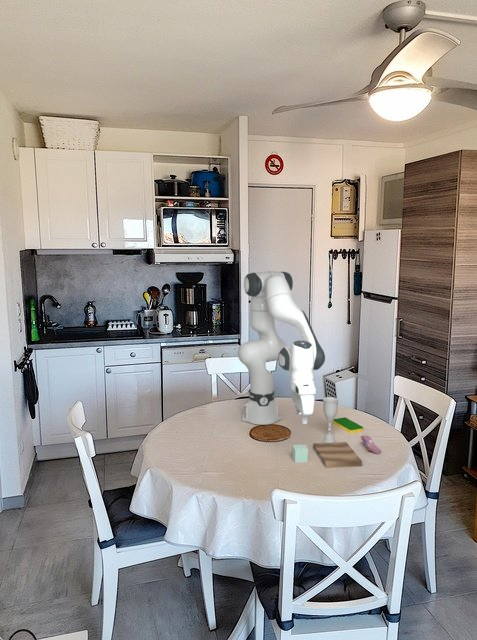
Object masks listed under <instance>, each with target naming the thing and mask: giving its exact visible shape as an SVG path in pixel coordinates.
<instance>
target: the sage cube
mask: <svg viewBox="0 0 477 640" xmlns="http://www.w3.org/2000/svg"><path fill="white" fill-rule="evenodd" d="M291 447H292V450H291V451H292V454H291V456H292V460H293V461H294V463H308V461H309V449H308V447H307V445H306V444H293V445H292V446H291Z"/></svg>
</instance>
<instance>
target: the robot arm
mask: <svg viewBox="0 0 477 640" xmlns="http://www.w3.org/2000/svg"><path fill="white" fill-rule="evenodd" d="M293 285H294V281H293V276H292V275H291V274H290V273H289V272H287V271H273V270H270V271H269V270H268V271H261V272H250V273H246V275H245V276H244V279H243V289H244V292H245V294H246V295H247V296H250V303H249V304H250V306H249V307H250V309H249V312H250V313H249V314H250V315H249V316H250V323H249V324H250V327H251V329H252V330H254V331H255V332H257V334H258V339H256V340H255V339H254V340H249V341H246V342H244V343H241V344H240V345H239V346H238V348H237V349H238V350H237V357H238V360H239V361H240V362H241V364H243V365H244V366H245V367H246V369H247V371H248V375H249V381H250V382H249V384H250V387H249V388H250V389H249V393H248V399H247V402H246V403H245V402H244V403H243V413H242V415H241V416H242V417H241V421H242V422H248V423H250V424H254V425H260V426H261V425H265V426H266V425H272V424H274V423H276V422H277V421H280V420H282V417H281V416H280V415H279V414H278V413H279V411H278V402H277V401H276V400H275V396H276V395H275V390H274V387H275V386H274V385H275V382H274V381H275V380H274V379H275V378H274V374H273V373H272V372H271V371H270V370H268V369H267V365H266V364H267V363H270V362H276V361H278V365H279V366H280V368H281V369H283V370H284V371H288V372H289V371H290V377H289V378H290V379H289V380H290V381H289V382H290V383H289V384H290V385H289V387H290V390H291V393H290V394H291V401H292V402H293V403H294V409H295V415H296V416H301V415H302V416H301V417H302V418H301V423H302V425H306V424H308V418H309V416H313V414H314V407H315V395H316V393H317V392H316V391H317V390H316V386H315V376H314V371H317V370H319V369H320V368H321V367H322V366H323V365H324V364H325V362H326V354H325V351H324V350H323V348H322V346H321V345H320V343H319V341H318V339H317V337H316V334H315V331H314V329H313V327H312V326H311V323H310V320H309V318H308V316H307V314H306V312H305V311H304V310H302V309H301V308H300V307H299V306H298V305H297V304H296V301H294V297H293V293H292V290H293ZM275 320H276V321H278V322H280V323H281V322H282V323H285V324H288V325H291V326H293V327H295V328H296V329H297V330H298V331H299V334H300V335H301V338H302V340H295V341H293V342H292V344H290V345H289V346H287V344H286V343H285V342H284V339H282V338H280V336H279V335H278V332H277V329H276V326H275Z"/></svg>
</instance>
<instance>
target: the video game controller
mask: <svg viewBox="0 0 477 640" xmlns="http://www.w3.org/2000/svg"><path fill="white" fill-rule="evenodd" d="M360 442H361V443H363V444H364V445H365V447H366V449H367V451H368V452H373V453H374V454H377V455H380V454H381V453H382V451H381V449H380V448H379V447H378V446H377V445H376V444H375V442H374V441H373V440H372V437H371V436H370V435H367V434H362V435H361V436H360Z"/></svg>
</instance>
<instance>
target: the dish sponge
mask: <svg viewBox="0 0 477 640" xmlns="http://www.w3.org/2000/svg"><path fill="white" fill-rule="evenodd" d="M332 424H333V425H335V426H337V427H339V429H342V430H344V431H345V432H346V433H348V434H355V433H361V432H364V426H362V425H360V424H358V423H357V422H355V421H353V420H351V419H350V418H348V417H339V418H334V420H333V421H332Z"/></svg>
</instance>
